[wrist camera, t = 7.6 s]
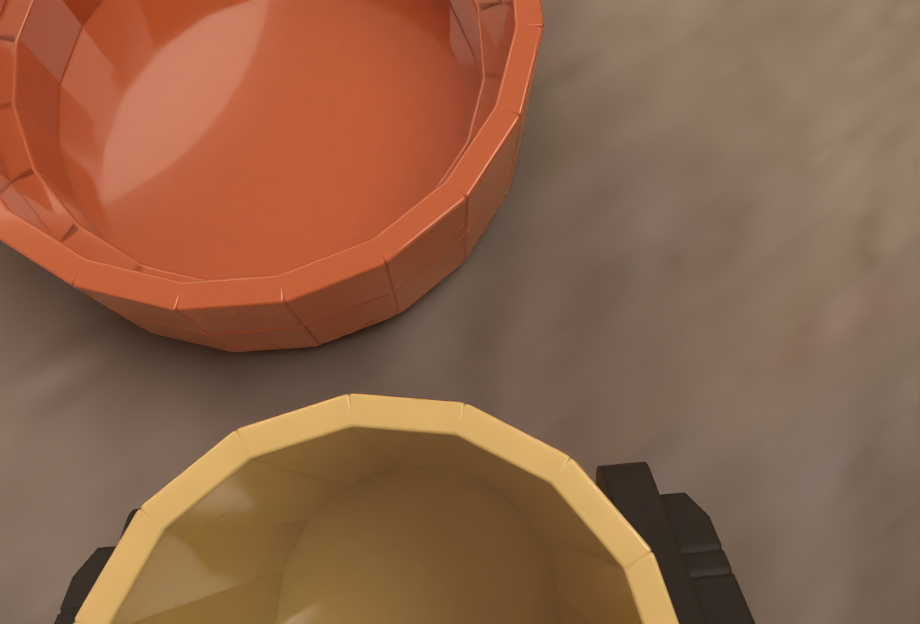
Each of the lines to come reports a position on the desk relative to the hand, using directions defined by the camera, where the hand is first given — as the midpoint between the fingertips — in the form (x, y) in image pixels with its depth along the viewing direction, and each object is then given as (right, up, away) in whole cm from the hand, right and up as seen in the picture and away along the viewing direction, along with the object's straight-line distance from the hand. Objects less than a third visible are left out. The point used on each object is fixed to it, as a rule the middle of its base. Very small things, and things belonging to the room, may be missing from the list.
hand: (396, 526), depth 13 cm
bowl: (-4, +9, +10) cm, 13 cm away
